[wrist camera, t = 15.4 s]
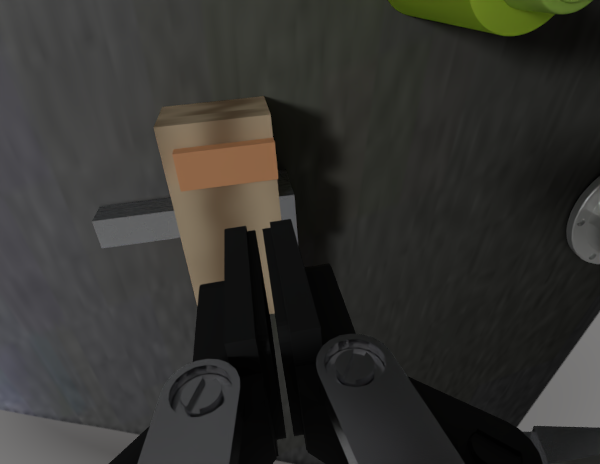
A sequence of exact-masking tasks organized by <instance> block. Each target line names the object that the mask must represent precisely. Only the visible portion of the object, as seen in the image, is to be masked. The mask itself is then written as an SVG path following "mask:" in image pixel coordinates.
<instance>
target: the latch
mask: <svg viewBox="0 0 600 464" xmlns="http://www.w3.org/2000/svg"><path fill="white" fill-rule="evenodd" d="M172 155H173V160H174V164H175V168H176V173H177V177H178V181H179V186H180V190H181V192H182V191H190V190H198V189H205V188H213V187H221V186H229V185H237V184H244V183H252V182H260V181H268V180H275V179H278V169H277V159H276V149H275V141H274V138H265V139H256V140H248V141H240V142H231V143H223V144H214V145H206V146H197V147H189V148H180V149H173V153H172Z"/></svg>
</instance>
